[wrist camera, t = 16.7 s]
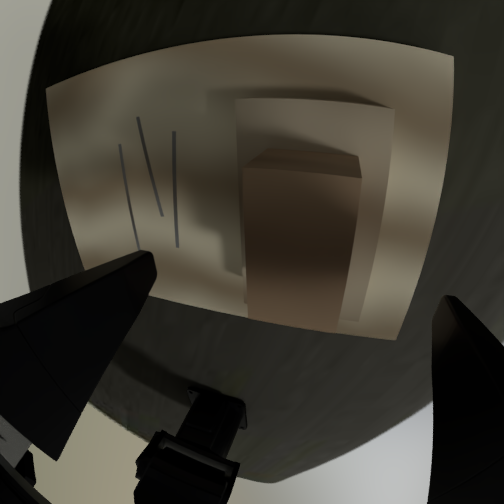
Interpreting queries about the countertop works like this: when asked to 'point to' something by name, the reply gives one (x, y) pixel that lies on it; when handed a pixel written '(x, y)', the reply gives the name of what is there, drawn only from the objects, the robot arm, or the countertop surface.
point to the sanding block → (310, 206)
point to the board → (225, 158)
